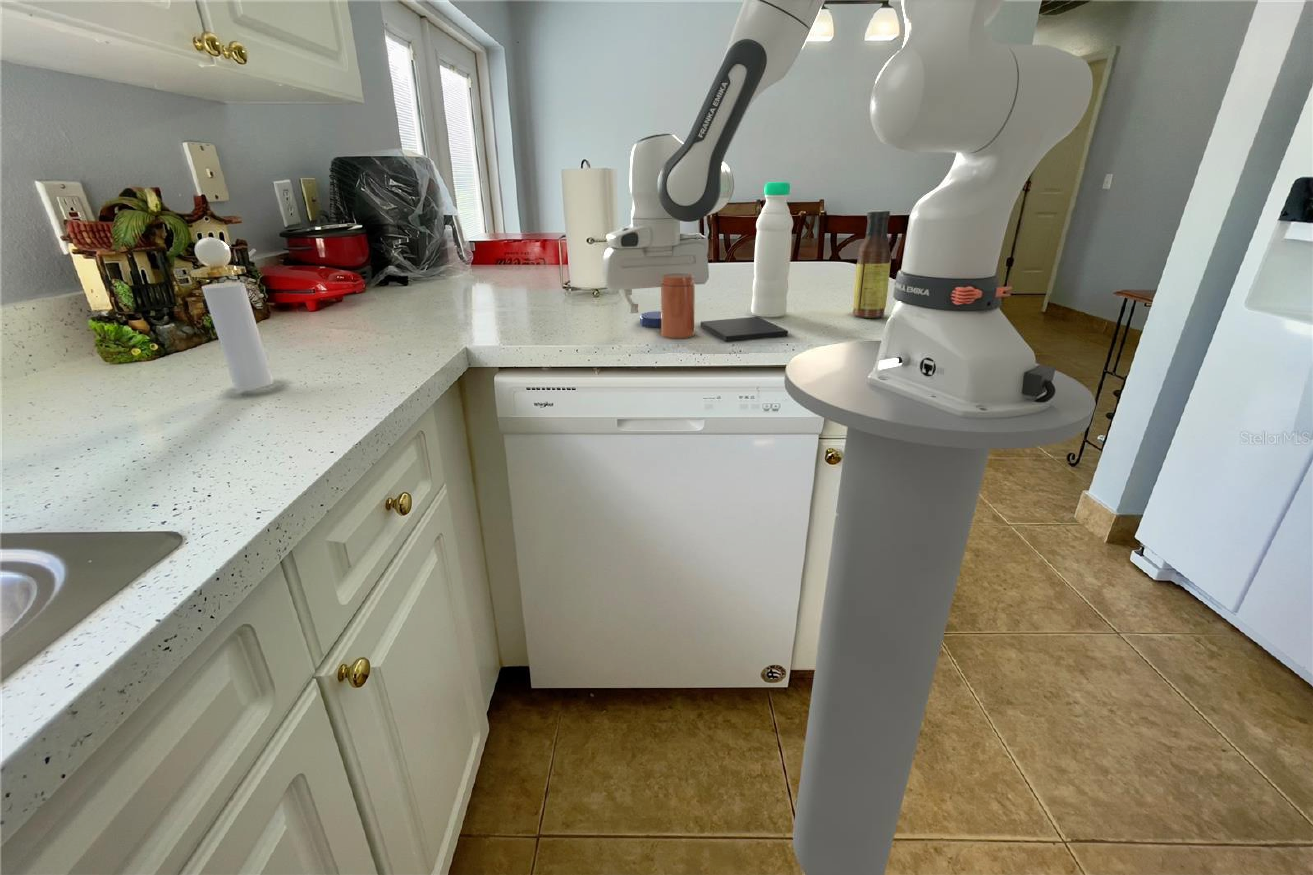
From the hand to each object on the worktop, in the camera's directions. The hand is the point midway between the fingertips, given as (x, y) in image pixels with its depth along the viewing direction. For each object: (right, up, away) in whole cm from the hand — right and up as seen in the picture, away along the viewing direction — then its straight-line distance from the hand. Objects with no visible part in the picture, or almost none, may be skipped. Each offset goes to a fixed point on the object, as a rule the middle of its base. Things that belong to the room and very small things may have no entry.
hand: (656, 310), depth 112 cm
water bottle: (+23, +1, +8) cm, 24 cm away
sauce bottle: (+43, 0, +6) cm, 43 cm away
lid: (0, -1, +1) cm, 2 cm away
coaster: (+16, -5, -4) cm, 17 cm away
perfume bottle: (-56, -18, -31) cm, 66 cm away
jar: (+4, -5, -6) cm, 9 cm away
